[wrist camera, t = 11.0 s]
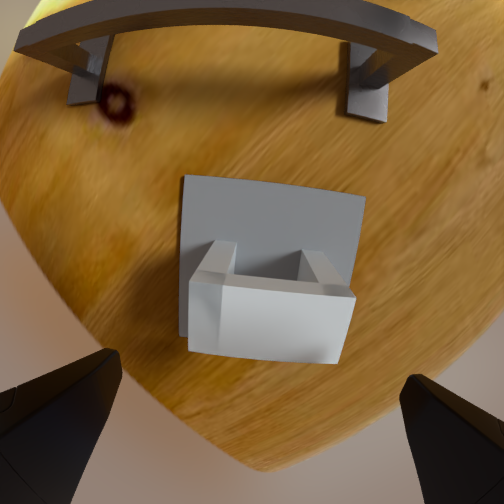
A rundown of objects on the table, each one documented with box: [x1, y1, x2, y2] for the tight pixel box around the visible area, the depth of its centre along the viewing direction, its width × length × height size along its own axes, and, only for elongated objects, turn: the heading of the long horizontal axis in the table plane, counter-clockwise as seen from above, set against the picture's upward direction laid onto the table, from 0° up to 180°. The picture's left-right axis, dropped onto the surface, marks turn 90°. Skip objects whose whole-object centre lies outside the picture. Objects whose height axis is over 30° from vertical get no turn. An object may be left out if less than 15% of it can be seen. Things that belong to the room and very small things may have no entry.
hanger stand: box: [13, 0, 438, 124], centre depth 10 cm, size 19×5×7 cm, turn 84°
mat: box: [179, 175, 366, 337], centre depth 16 cm, size 10×10×1 cm
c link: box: [188, 240, 356, 364], centre depth 13 cm, size 3×6×6 cm, turn 84°
